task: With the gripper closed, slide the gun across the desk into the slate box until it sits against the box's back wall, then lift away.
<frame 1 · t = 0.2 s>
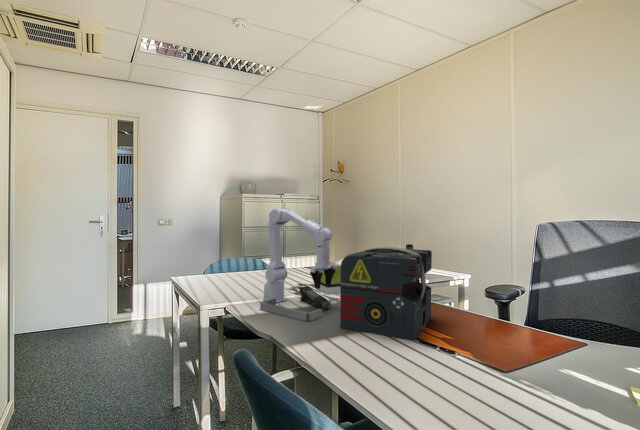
hand: (322, 286, 158), 10 cm above the table, tool pointing down, fingers open, 7 cm apart
power unit: (387, 324, 140), on the table
slate box: (290, 312, 153), on the table
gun: (313, 305, 166), on the table
tea box: (329, 291, 194), on the table
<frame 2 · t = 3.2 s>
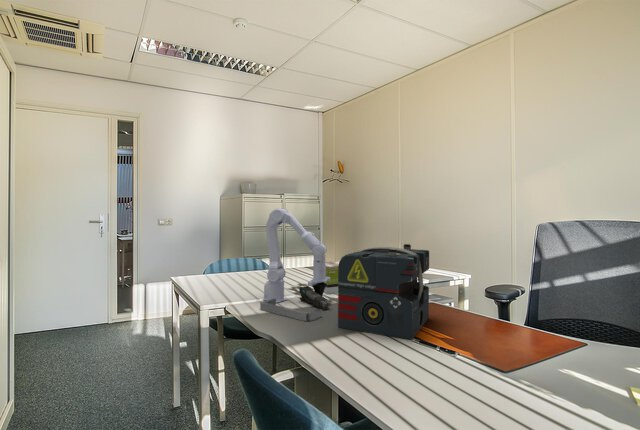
hand: (319, 298, 169), 2 cm above the table, tool pointing down, fingers closed
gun: (313, 305, 166), on the table, touching gripper
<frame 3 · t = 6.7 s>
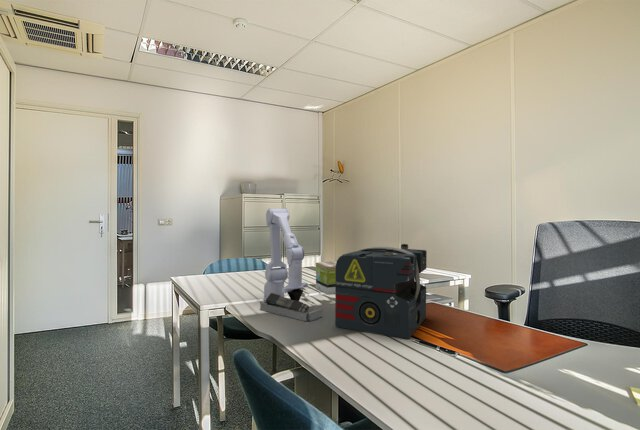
hand: (295, 306, 155), 2 cm above the table, tool pointing down, fingers closed
power unit: (382, 323, 141), on the table
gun: (290, 310, 155), point 1 cm above the table, touching gripper
everything else where it was.
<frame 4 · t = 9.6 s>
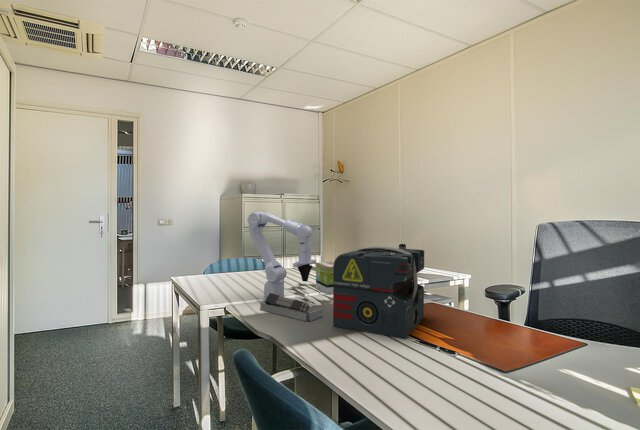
hand: (304, 281, 168), 10 cm above the table, tool pointing down, fingers closed
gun: (290, 309, 156), point 1 cm above the table, touching slate box
at the end: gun inside the target area on the slate box (2.9 cm from its centre), point 0.7 cm above the slate box's base; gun moved 14.0 cm from its start; the gripper is holding nothing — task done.
